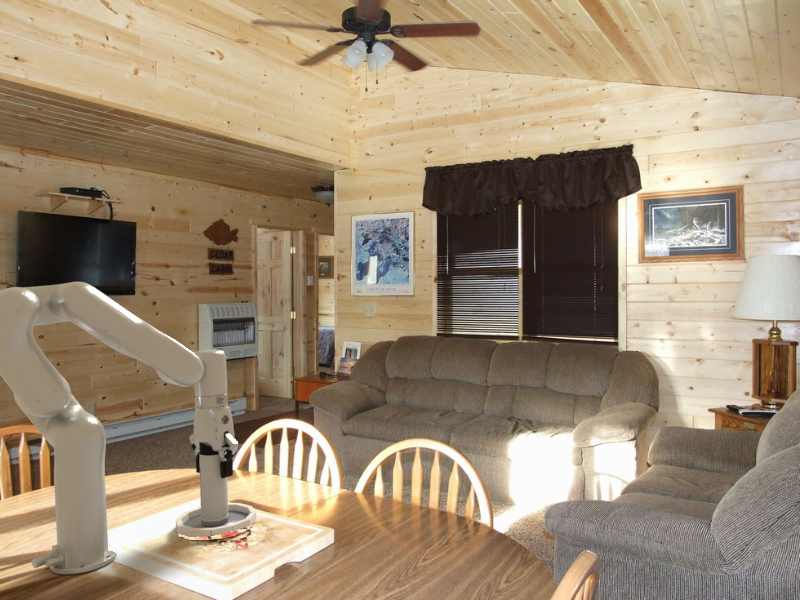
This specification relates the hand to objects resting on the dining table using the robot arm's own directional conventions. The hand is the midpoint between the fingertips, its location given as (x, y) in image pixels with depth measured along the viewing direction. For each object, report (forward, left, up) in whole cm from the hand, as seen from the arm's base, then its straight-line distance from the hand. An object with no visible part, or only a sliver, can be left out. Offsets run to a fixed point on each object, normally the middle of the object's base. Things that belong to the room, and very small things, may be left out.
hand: (214, 473), depth 151 cm
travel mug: (0, 0, -12) cm, 12 cm away
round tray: (0, 0, -13) cm, 13 cm away
